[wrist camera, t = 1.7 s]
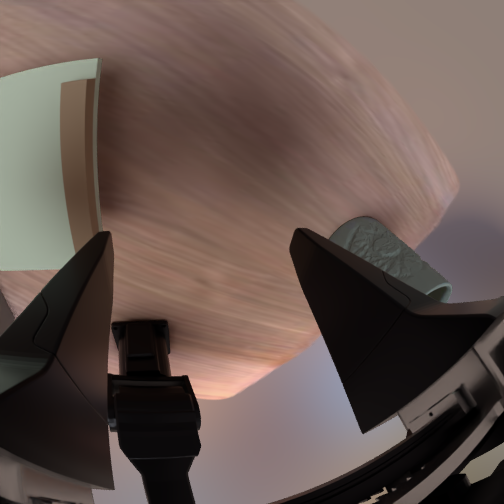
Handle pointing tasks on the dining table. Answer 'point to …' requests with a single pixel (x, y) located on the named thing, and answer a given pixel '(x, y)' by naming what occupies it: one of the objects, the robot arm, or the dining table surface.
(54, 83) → the lid
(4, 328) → the tape dispenser
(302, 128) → the dining table surface
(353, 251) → the grey-green cup
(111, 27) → the dining table surface
